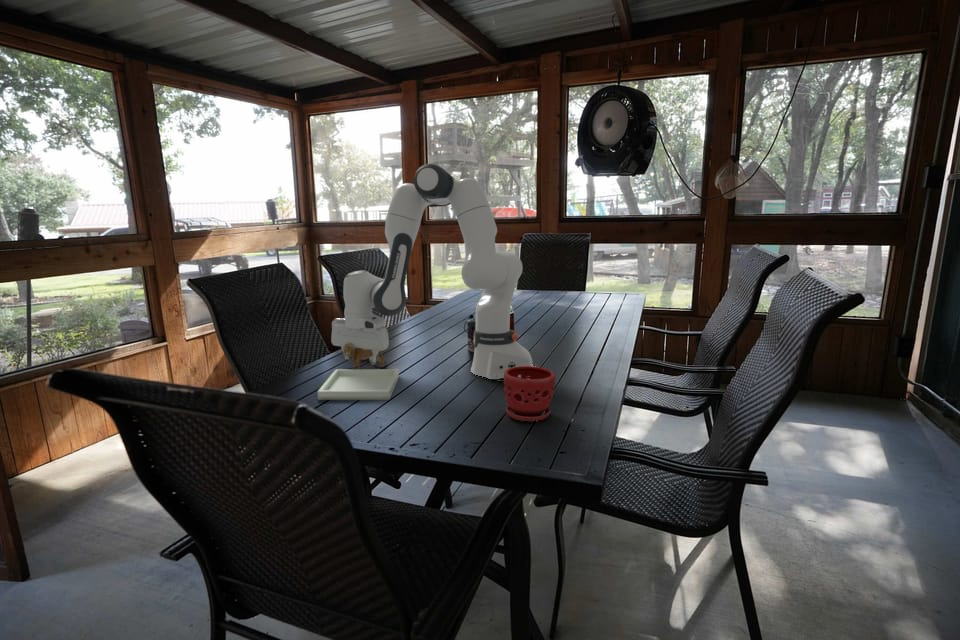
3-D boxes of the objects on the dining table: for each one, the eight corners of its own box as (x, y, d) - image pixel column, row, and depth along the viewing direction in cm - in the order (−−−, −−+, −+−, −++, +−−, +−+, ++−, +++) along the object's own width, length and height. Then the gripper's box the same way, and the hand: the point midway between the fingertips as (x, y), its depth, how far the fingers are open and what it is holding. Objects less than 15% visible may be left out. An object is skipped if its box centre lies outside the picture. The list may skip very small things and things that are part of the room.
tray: (399, 376, 165) (398, 369, 164) (389, 399, 145) (389, 391, 145) (336, 376, 164) (335, 369, 164) (318, 399, 145) (317, 391, 144)
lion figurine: (345, 372, 169) (344, 345, 167) (342, 367, 173) (340, 342, 171) (389, 366, 175) (388, 341, 173) (385, 362, 180) (384, 337, 178)
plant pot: (561, 422, 131) (563, 377, 128) (513, 428, 127) (514, 382, 125) (541, 403, 143) (542, 362, 141) (496, 408, 140) (497, 366, 137)
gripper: (326, 319, 170) (328, 359, 173) (380, 324, 164) (382, 366, 167) (337, 315, 176) (339, 354, 179) (390, 320, 169) (391, 360, 172)
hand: (360, 360), depth 173 cm, fingers open, 8 cm apart
